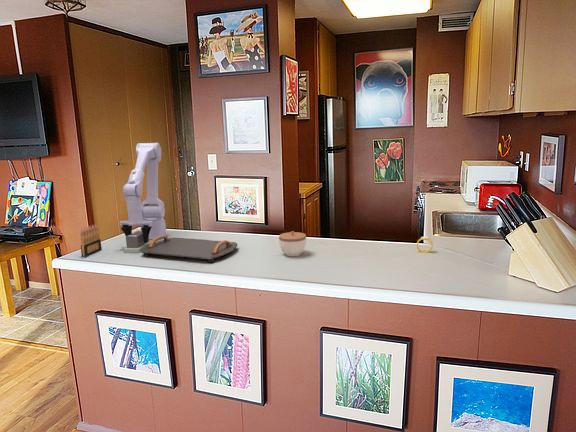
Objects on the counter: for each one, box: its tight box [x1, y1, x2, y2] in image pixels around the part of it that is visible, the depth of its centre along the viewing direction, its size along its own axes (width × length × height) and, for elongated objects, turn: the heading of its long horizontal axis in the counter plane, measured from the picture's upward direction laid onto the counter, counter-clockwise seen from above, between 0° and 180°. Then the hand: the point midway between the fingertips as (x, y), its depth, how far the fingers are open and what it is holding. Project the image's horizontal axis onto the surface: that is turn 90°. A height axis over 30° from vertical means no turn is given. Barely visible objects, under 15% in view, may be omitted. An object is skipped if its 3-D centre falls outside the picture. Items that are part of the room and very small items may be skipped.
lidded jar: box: [278, 230, 307, 257], centre depth 180 cm, size 11×11×9 cm
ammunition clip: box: [80, 223, 103, 258], centre depth 190 cm, size 11×2×12 cm, turn 166°
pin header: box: [122, 240, 152, 254], centre depth 196 cm, size 13×7×4 cm, turn 168°
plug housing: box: [125, 230, 150, 248], centre depth 196 cm, size 10×5×5 cm, turn 168°
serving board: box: [140, 235, 238, 264], centre depth 188 cm, size 39×23×6 cm, turn 68°
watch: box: [416, 236, 434, 253], centre depth 178 cm, size 6×3×6 cm, turn 71°
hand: (138, 242), depth 196 cm, fingers open, 7 cm apart
